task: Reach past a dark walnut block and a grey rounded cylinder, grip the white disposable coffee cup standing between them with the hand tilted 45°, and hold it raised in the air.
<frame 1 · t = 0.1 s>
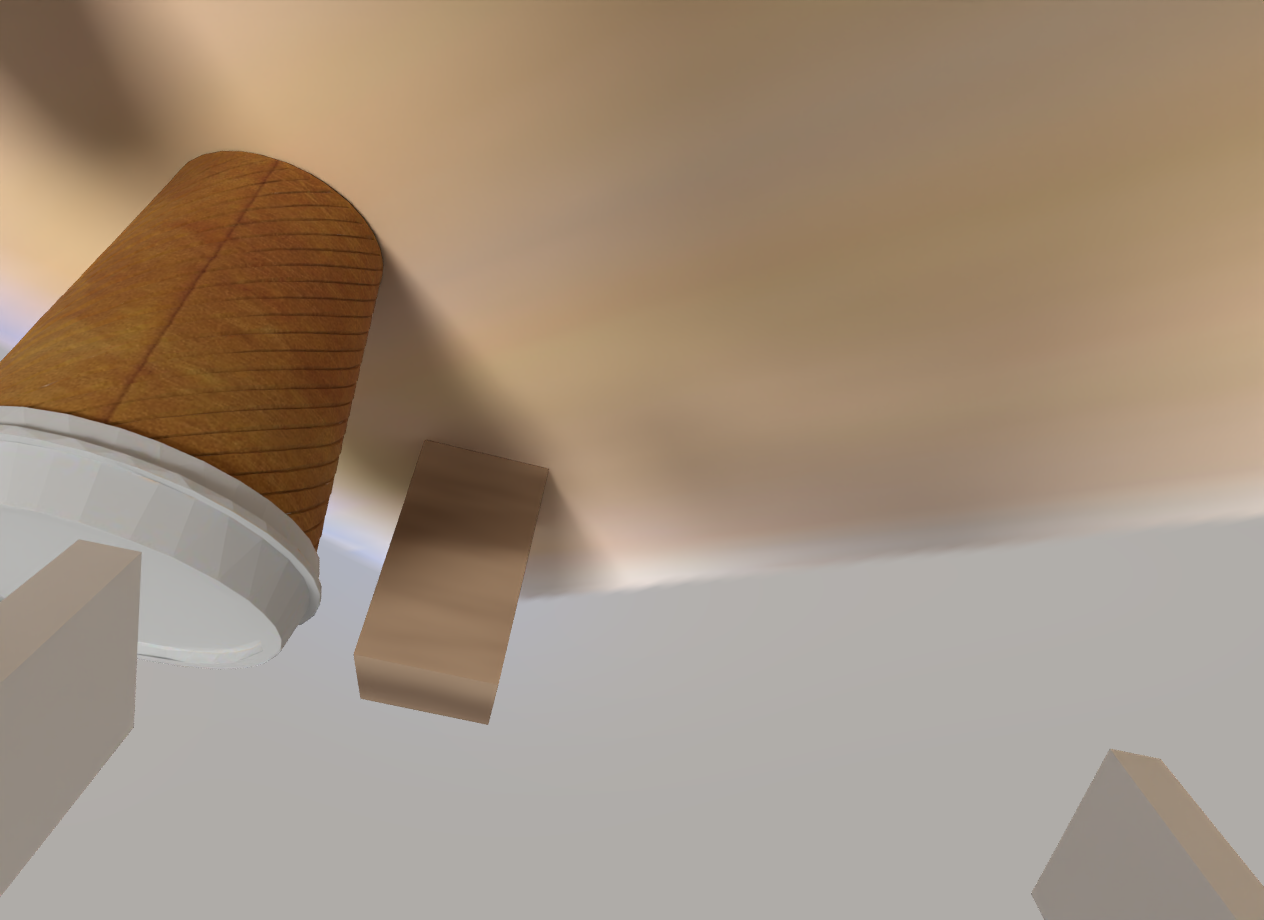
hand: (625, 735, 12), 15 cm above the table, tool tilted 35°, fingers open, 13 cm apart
disposable coffee cup: (283, 232, 27), on the table
walnut block: (483, 485, 38), on the table
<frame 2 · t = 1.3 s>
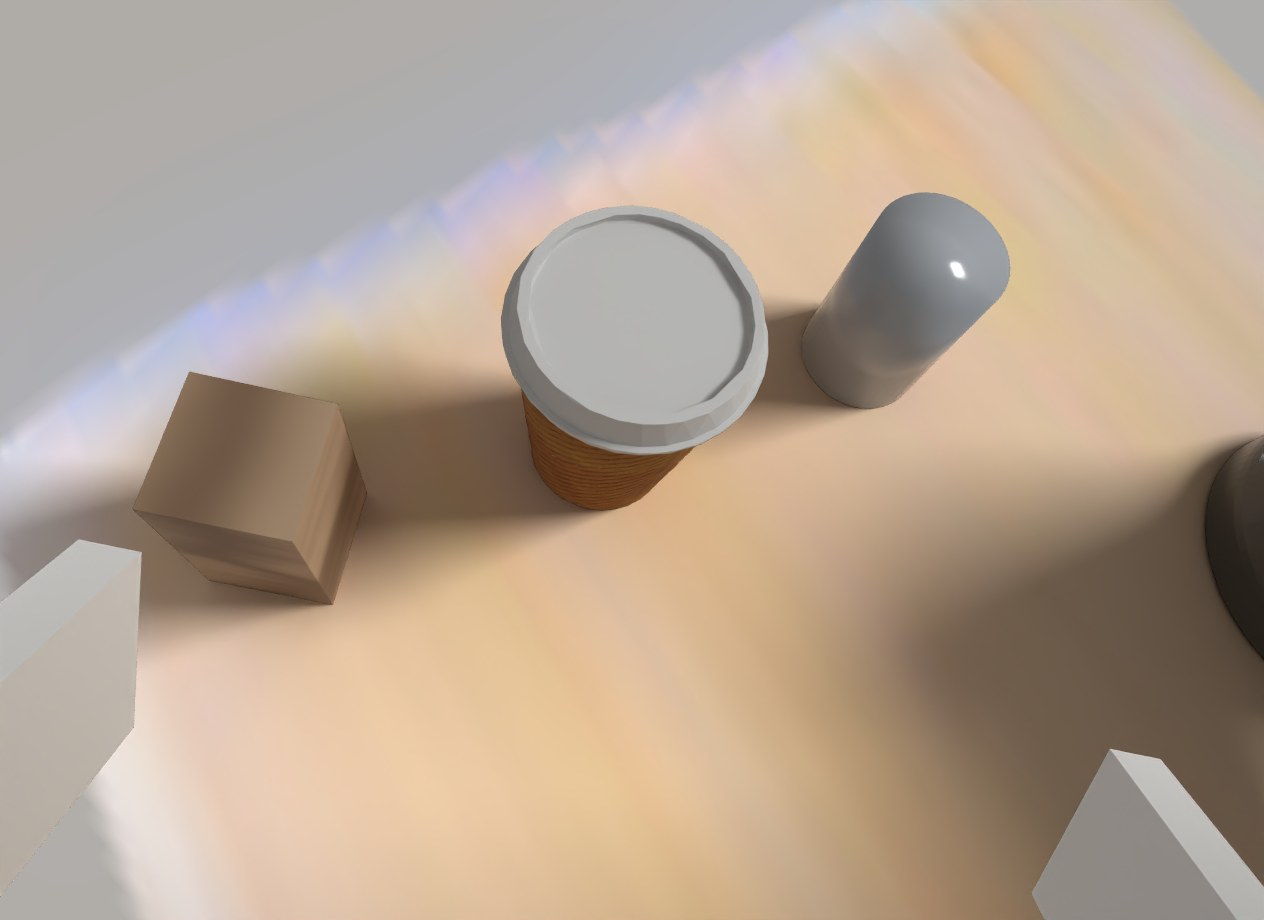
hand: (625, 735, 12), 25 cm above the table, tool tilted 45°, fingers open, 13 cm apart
disposable coffee cup: (599, 447, 42), on the table
grey rounded cylinder: (858, 355, 46), on the table
walnut block: (290, 535, 38), on the table
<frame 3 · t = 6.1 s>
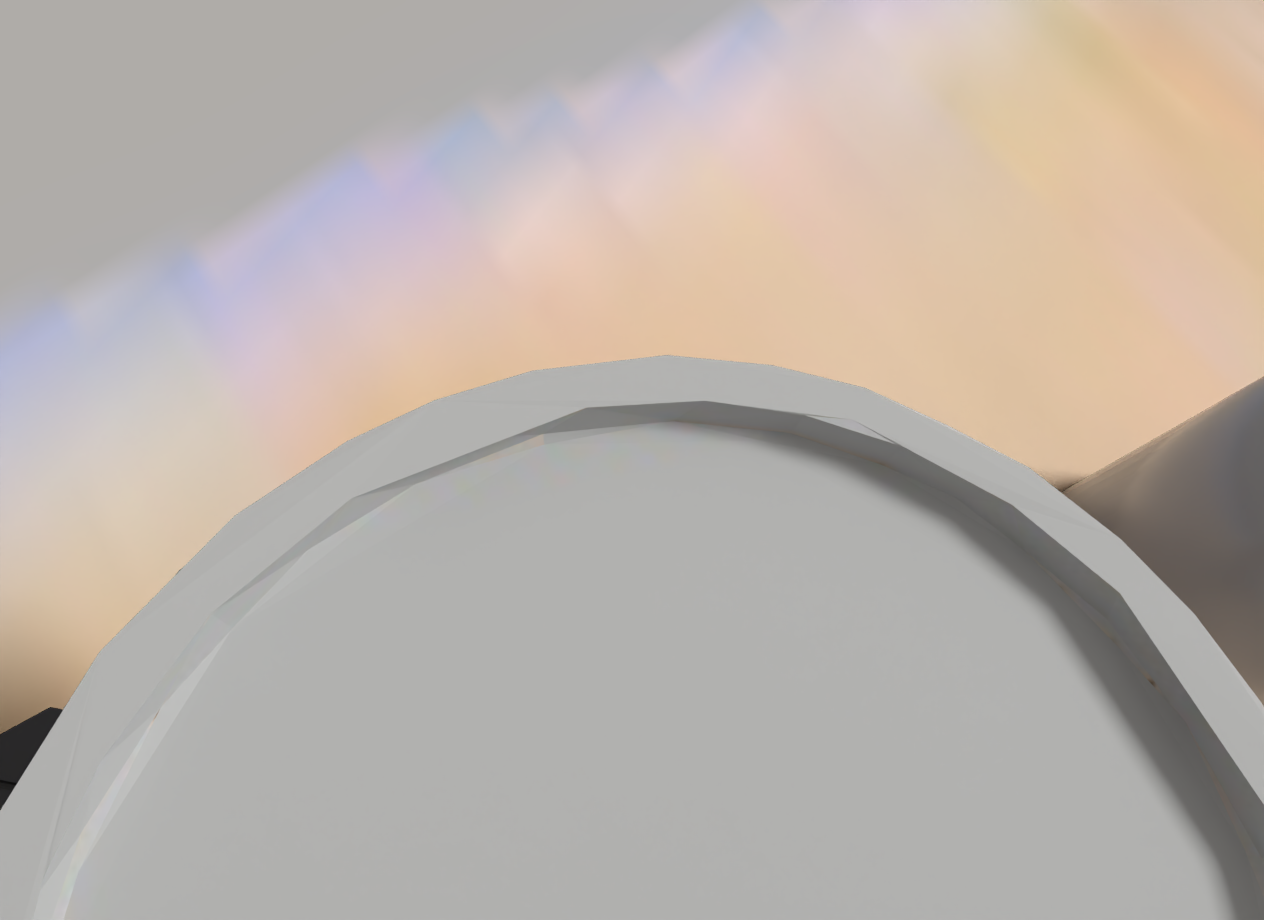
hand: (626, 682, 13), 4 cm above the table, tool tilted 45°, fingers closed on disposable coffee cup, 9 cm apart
disposable coffee cup: (556, 897, 16), on the table, touching gripper
grey rounded cylinder: (1148, 600, 20), on the table
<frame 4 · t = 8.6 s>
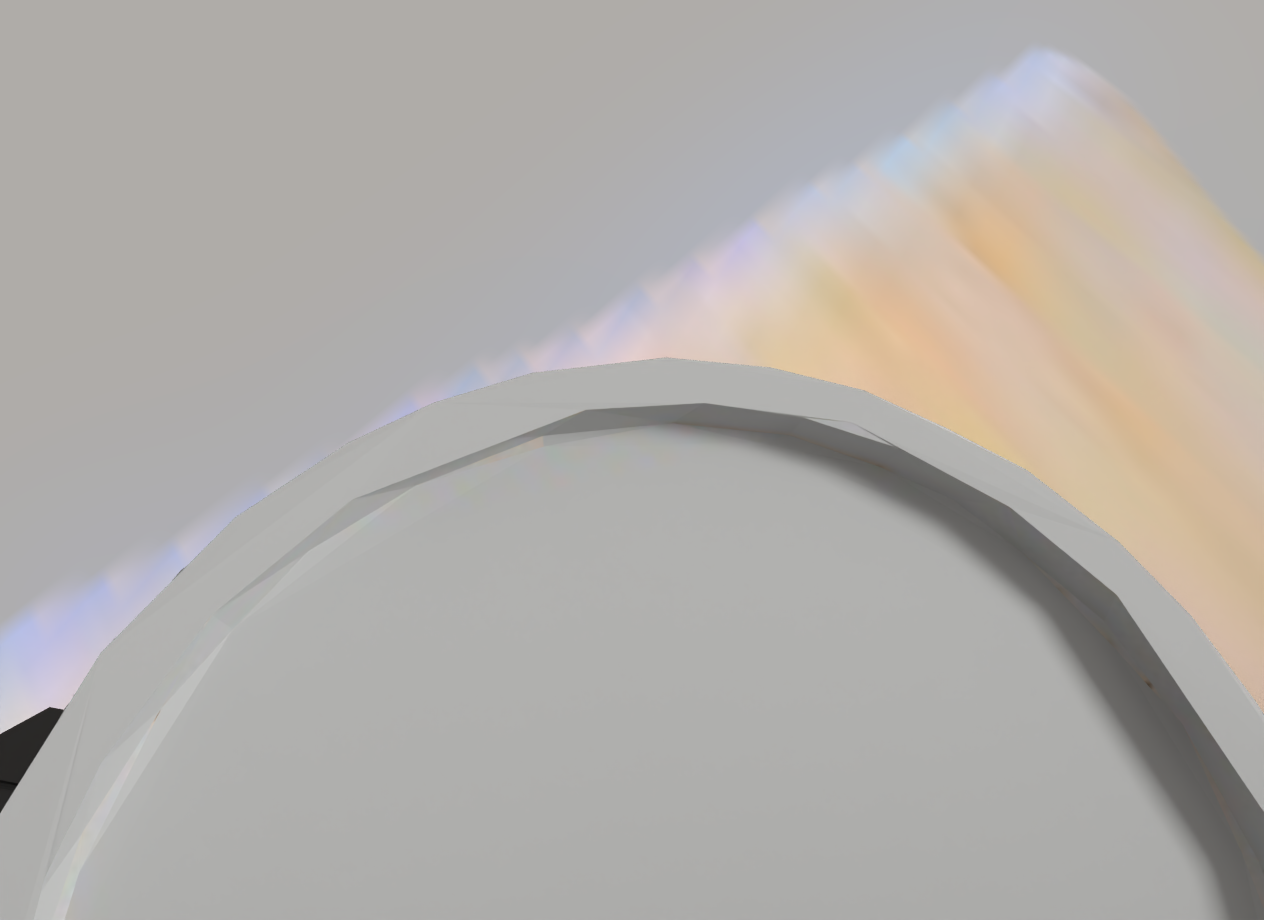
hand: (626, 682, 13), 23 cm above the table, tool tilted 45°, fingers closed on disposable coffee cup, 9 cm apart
disposable coffee cup: (555, 898, 16), point 19 cm above the table, touching gripper
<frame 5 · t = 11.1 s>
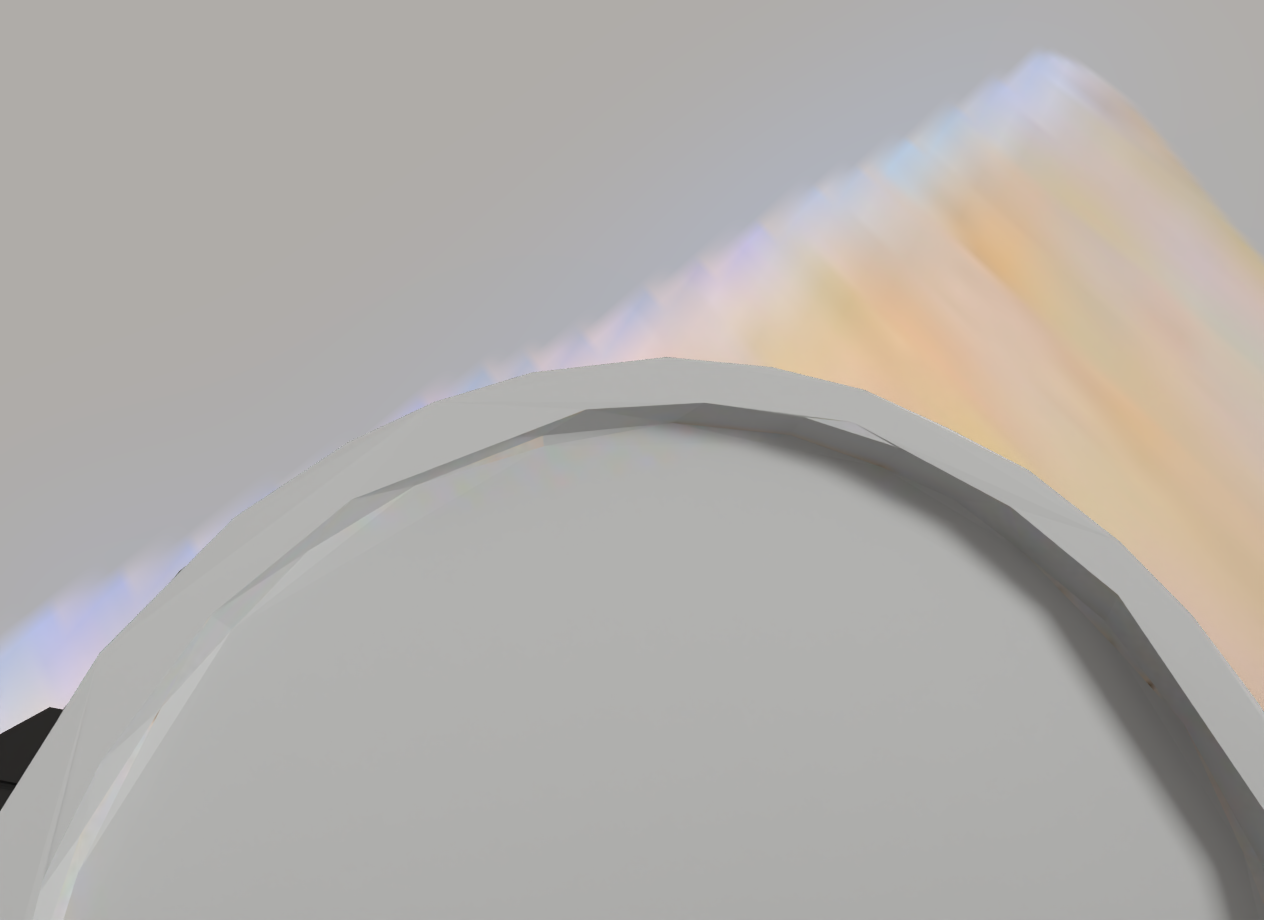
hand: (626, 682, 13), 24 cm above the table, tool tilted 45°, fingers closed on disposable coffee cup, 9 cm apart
disposable coffee cup: (555, 898, 16), point 19 cm above the table, touching gripper
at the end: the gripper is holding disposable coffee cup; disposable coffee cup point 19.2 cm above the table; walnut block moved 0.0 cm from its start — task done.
